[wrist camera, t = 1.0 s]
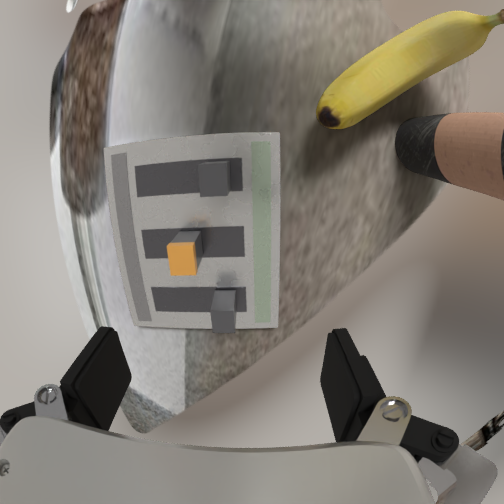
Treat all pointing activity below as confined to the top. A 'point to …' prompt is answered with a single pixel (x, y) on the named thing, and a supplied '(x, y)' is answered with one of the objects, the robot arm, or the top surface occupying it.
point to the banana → (402, 65)
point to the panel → (197, 227)
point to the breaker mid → (185, 253)
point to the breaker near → (214, 178)
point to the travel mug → (456, 149)
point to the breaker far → (223, 311)
